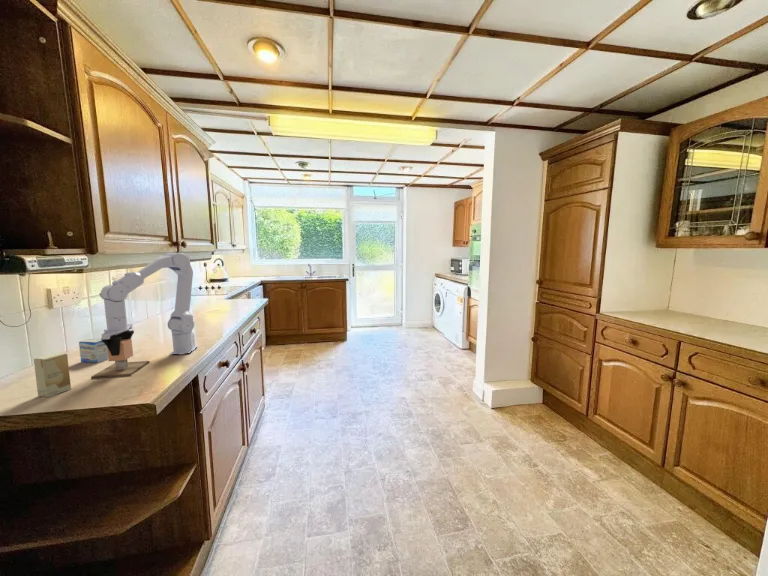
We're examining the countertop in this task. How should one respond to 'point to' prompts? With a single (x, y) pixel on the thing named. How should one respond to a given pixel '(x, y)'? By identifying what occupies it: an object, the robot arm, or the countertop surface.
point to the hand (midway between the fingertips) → (120, 352)
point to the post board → (120, 369)
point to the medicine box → (93, 351)
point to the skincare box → (52, 374)
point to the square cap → (122, 351)
